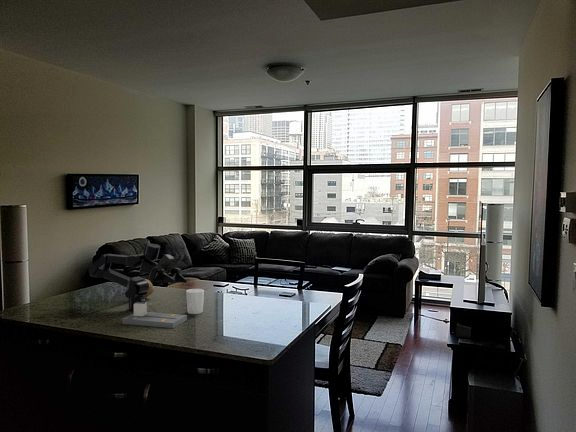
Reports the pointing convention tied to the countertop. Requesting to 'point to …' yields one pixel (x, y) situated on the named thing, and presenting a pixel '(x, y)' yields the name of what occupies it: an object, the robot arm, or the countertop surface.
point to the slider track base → (156, 319)
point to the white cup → (195, 300)
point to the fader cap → (140, 308)
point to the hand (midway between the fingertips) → (180, 281)
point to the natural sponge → (149, 289)
